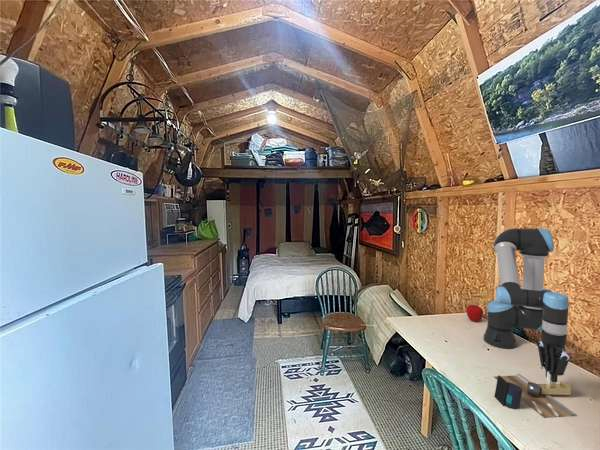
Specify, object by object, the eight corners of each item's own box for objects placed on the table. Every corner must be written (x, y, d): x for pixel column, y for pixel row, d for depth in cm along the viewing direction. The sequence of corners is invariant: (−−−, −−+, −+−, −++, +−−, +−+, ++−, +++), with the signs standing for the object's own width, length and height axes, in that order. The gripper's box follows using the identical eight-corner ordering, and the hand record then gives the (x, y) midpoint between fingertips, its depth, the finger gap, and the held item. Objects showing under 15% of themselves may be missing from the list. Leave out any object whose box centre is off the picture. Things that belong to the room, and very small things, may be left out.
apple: (469, 323, 186) (469, 307, 186) (463, 317, 196) (463, 302, 195) (486, 324, 185) (486, 307, 184) (479, 318, 194) (479, 302, 194)
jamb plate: (518, 377, 128) (518, 373, 128) (575, 419, 103) (575, 414, 103) (493, 379, 127) (493, 375, 127) (544, 421, 102) (544, 416, 102)
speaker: (497, 408, 109) (500, 382, 108) (493, 399, 114) (496, 374, 113) (521, 415, 106) (525, 388, 105) (516, 406, 111) (520, 380, 110)
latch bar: (532, 397, 112) (532, 386, 112) (524, 390, 116) (525, 380, 116) (572, 398, 112) (572, 387, 111) (563, 391, 116) (563, 380, 115)
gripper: (531, 325, 120) (528, 378, 122) (560, 339, 107) (557, 399, 109) (547, 324, 121) (544, 377, 122) (579, 338, 108) (575, 397, 110)
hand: (550, 387), depth 116 cm, fingers closed
